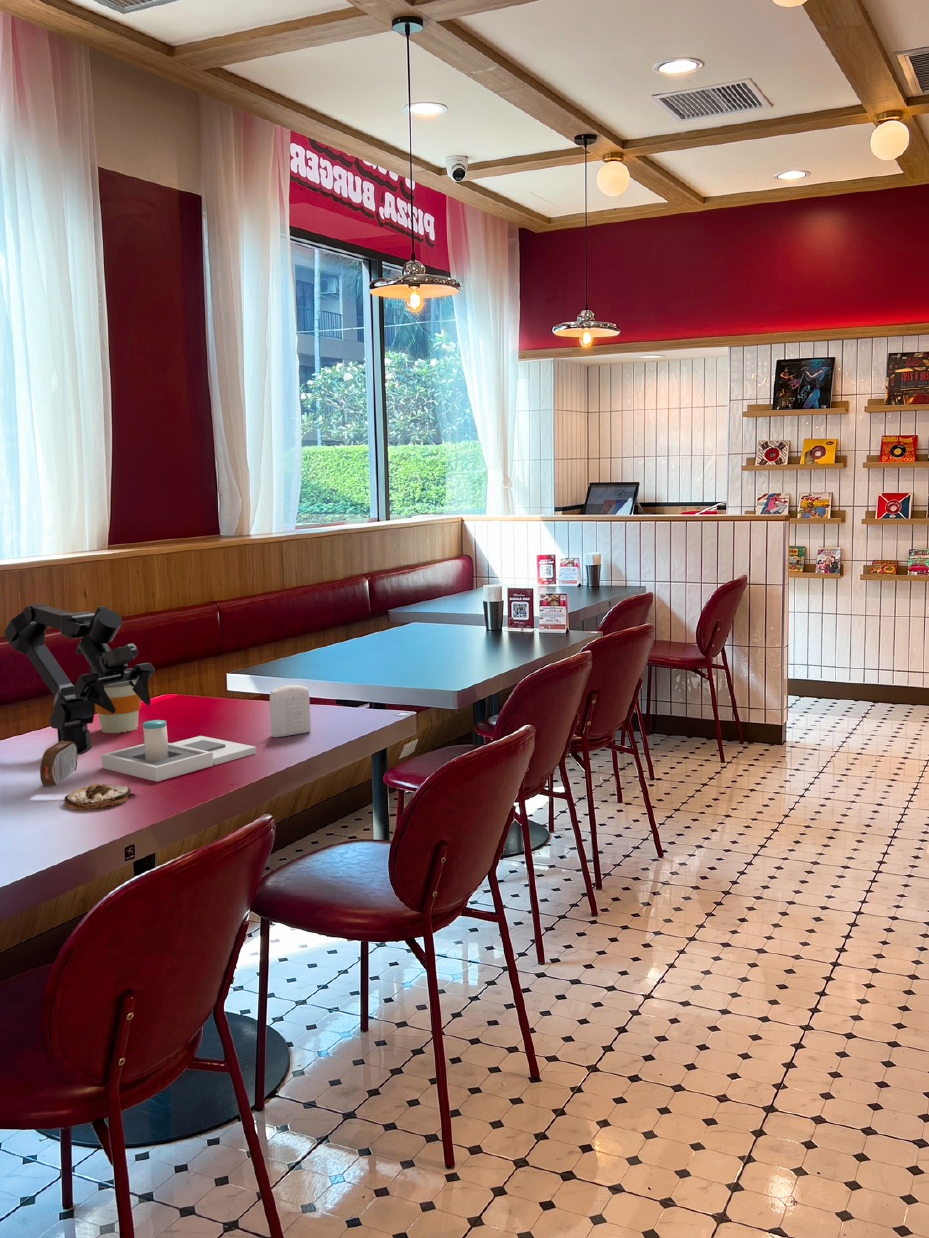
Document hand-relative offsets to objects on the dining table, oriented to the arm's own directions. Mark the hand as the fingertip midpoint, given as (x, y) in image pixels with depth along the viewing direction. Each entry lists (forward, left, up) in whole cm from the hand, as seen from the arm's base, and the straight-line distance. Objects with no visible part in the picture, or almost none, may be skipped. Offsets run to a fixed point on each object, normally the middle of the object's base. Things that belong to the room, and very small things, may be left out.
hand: (132, 708), depth 250 cm
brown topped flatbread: (+2, -27, -14) cm, 30 cm away
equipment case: (+10, 0, -13) cm, 17 cm away
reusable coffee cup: (-17, +36, -13) cm, 42 cm away
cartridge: (+7, -5, -12) cm, 15 cm away
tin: (-12, -13, -14) cm, 22 cm away
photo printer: (+30, +28, -13) cm, 43 cm away
